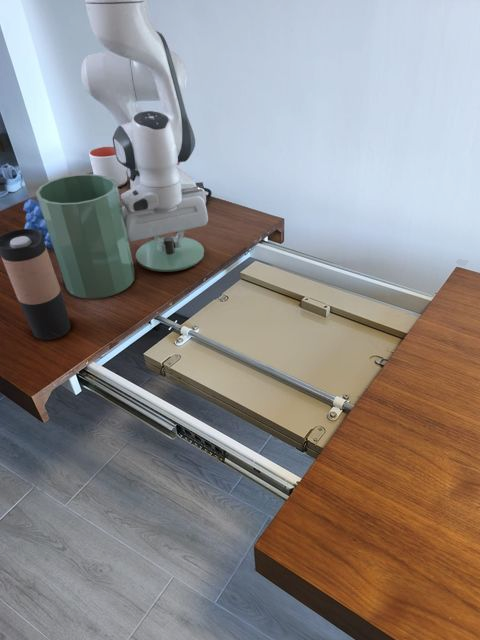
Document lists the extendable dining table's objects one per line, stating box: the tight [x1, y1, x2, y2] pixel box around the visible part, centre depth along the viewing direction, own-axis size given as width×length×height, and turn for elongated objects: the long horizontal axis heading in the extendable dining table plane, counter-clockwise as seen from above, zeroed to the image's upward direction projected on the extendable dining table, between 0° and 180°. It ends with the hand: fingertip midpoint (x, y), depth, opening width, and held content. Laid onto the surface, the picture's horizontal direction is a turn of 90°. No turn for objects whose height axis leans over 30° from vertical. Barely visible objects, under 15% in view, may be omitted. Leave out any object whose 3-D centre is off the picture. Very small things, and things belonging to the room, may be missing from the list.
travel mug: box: [0, 228, 71, 341], centre depth 88 cm, size 8×8×20 cm
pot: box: [35, 173, 136, 300], centre depth 102 cm, size 15×15×22 cm
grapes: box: [22, 198, 54, 250], centre depth 116 cm, size 12×7×12 cm, turn 48°
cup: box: [88, 146, 128, 188], centre depth 149 cm, size 10×10×10 cm
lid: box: [135, 235, 205, 273], centre depth 114 cm, size 16×16×5 cm
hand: (169, 248), depth 115 cm, fingers closed on lid, 2 cm apart
